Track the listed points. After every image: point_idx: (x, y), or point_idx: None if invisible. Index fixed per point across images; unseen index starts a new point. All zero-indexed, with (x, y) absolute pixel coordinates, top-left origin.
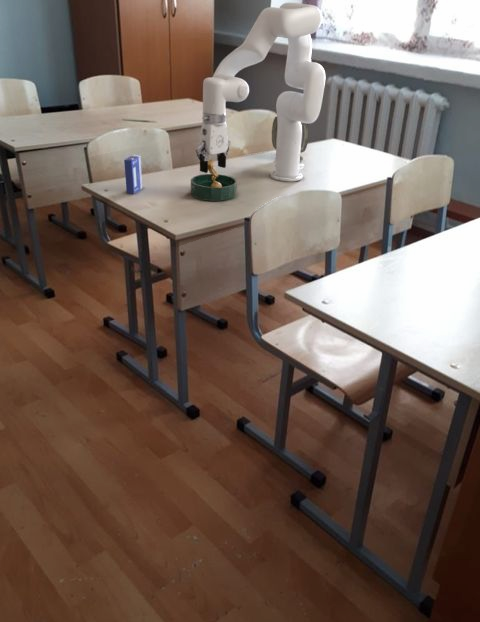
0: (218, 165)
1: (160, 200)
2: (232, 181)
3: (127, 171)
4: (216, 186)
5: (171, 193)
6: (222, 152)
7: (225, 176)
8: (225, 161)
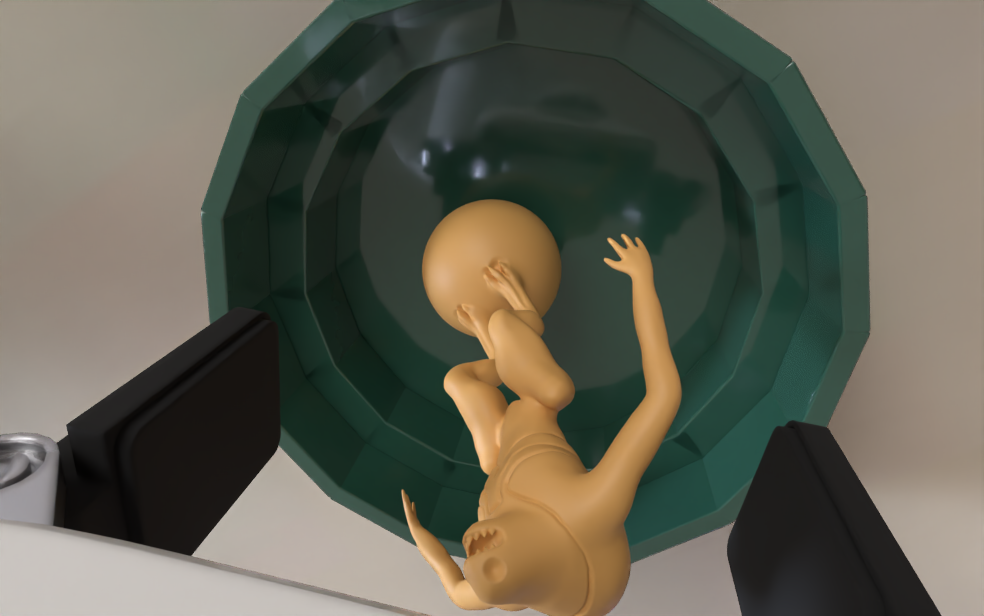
0: (273, 442)
1: (975, 572)
2: (265, 156)
3: None
4: (540, 251)
5: (728, 573)
6: (213, 564)
7: (232, 299)
8: (177, 362)
